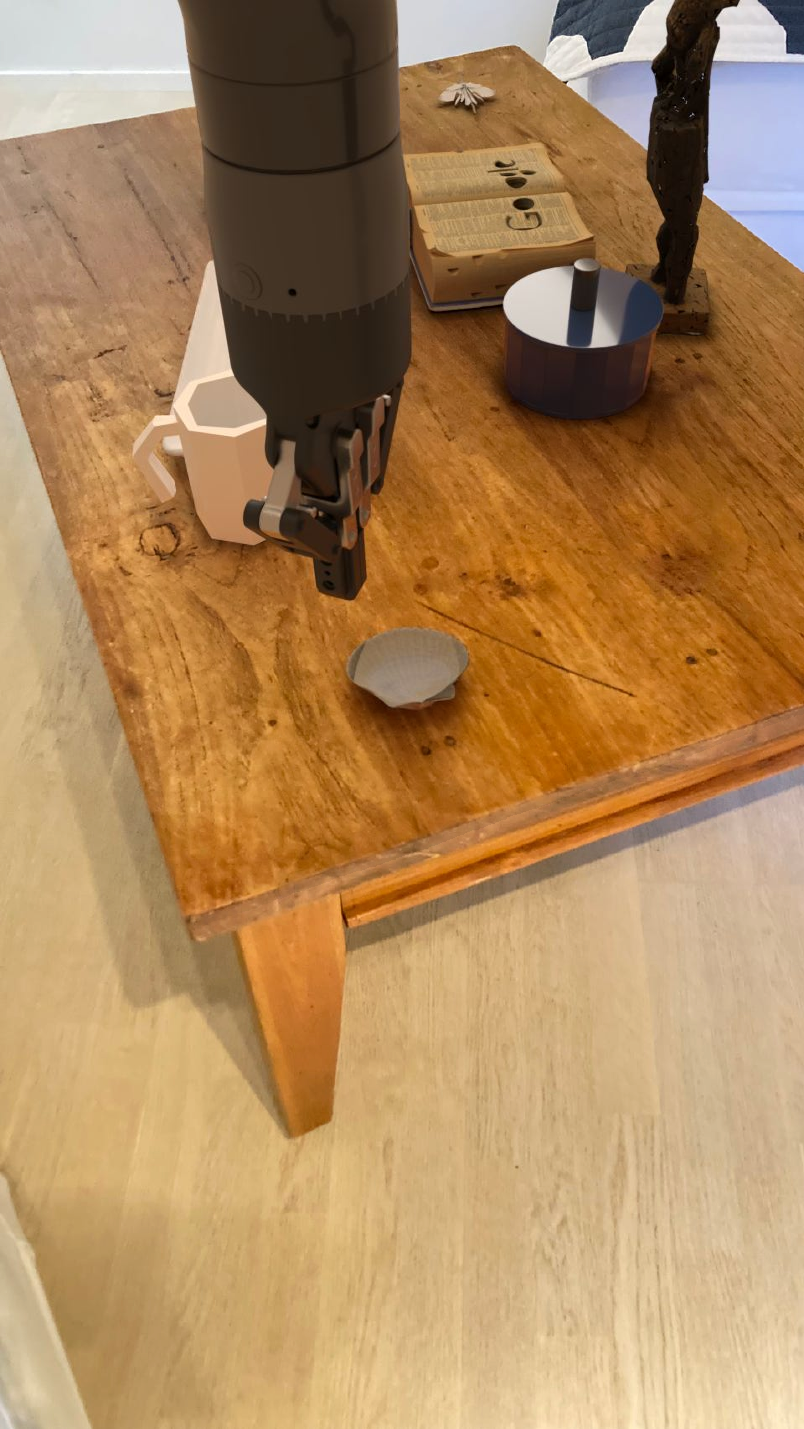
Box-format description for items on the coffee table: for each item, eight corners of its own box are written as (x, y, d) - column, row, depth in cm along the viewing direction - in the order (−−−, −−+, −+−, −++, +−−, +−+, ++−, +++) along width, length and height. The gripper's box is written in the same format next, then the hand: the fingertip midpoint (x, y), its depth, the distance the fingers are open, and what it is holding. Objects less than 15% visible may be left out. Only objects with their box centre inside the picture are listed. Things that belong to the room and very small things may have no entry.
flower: (505, 119, 134) (507, 97, 131) (444, 126, 133) (445, 104, 130) (490, 87, 137) (492, 65, 135) (430, 93, 136) (431, 71, 134)
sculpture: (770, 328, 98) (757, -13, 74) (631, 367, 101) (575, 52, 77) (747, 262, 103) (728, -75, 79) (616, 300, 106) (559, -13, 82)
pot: (659, 354, 96) (671, 286, 91) (627, 431, 89) (639, 362, 84) (527, 331, 99) (531, 264, 94) (485, 404, 92) (487, 335, 87)
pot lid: (676, 291, 92) (685, 239, 88) (641, 372, 84) (650, 319, 80) (528, 267, 95) (531, 216, 92) (481, 343, 87) (483, 291, 84)
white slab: (165, 483, 86) (156, 447, 83) (212, 288, 106) (207, 254, 103) (372, 480, 85) (370, 444, 83) (380, 284, 106) (379, 250, 103)
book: (595, 296, 103) (603, 236, 98) (428, 314, 102) (427, 253, 97) (536, 186, 119) (540, 129, 114) (391, 200, 118) (389, 143, 113)
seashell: (450, 656, 75) (339, 646, 73) (459, 620, 73) (346, 610, 72) (470, 731, 69) (349, 722, 67) (481, 694, 67) (357, 685, 65)
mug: (298, 471, 86) (285, 364, 79) (304, 540, 81) (291, 431, 73) (151, 485, 86) (123, 378, 78) (147, 555, 80) (117, 447, 73)
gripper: (333, 364, 36) (360, 699, 49) (461, 196, 43) (454, 524, 57) (139, 326, 38) (216, 659, 51) (295, 172, 45) (327, 495, 59)
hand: (342, 587), depth 54 cm, fingers closed
